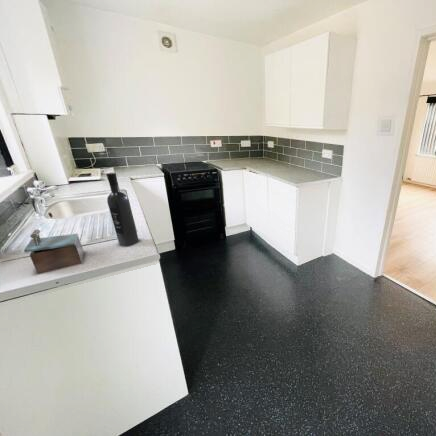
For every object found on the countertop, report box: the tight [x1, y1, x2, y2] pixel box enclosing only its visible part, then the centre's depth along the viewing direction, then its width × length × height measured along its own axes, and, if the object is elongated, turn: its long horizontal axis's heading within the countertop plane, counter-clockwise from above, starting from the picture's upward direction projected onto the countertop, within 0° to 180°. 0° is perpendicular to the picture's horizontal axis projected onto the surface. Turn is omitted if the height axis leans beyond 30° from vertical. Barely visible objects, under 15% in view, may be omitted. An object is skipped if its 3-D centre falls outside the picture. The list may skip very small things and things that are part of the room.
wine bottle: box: [106, 172, 140, 247], centre depth 98 cm, size 6×6×30 cm
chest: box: [29, 236, 85, 275], centre depth 88 cm, size 12×11×8 cm
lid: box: [23, 229, 79, 253], centre depth 85 cm, size 12×11×5 cm
